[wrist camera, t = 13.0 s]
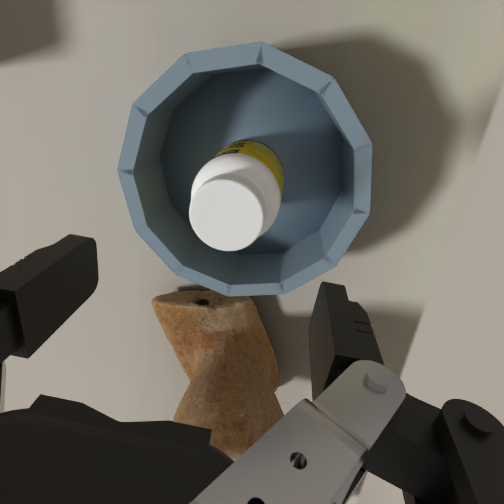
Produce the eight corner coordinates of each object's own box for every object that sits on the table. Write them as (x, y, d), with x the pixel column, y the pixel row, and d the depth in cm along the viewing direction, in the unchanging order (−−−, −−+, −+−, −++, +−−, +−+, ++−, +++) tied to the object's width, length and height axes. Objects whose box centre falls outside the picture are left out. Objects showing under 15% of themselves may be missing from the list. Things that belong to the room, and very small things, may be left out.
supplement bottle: (248, 121, 24) (224, 140, 16) (298, 175, 26) (302, 220, 17) (200, 172, 26) (155, 215, 18) (249, 220, 28) (229, 281, 19)
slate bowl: (392, 194, 27) (417, 221, 21) (235, 286, 32) (223, 327, 27) (276, -3, 22) (271, -31, 16) (115, 146, 27) (72, 162, 22)
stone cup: (305, 384, 37) (312, 554, 24) (204, 394, 39) (159, 553, 26) (273, 266, 31) (258, 406, 17) (156, 287, 33) (64, 424, 20)
